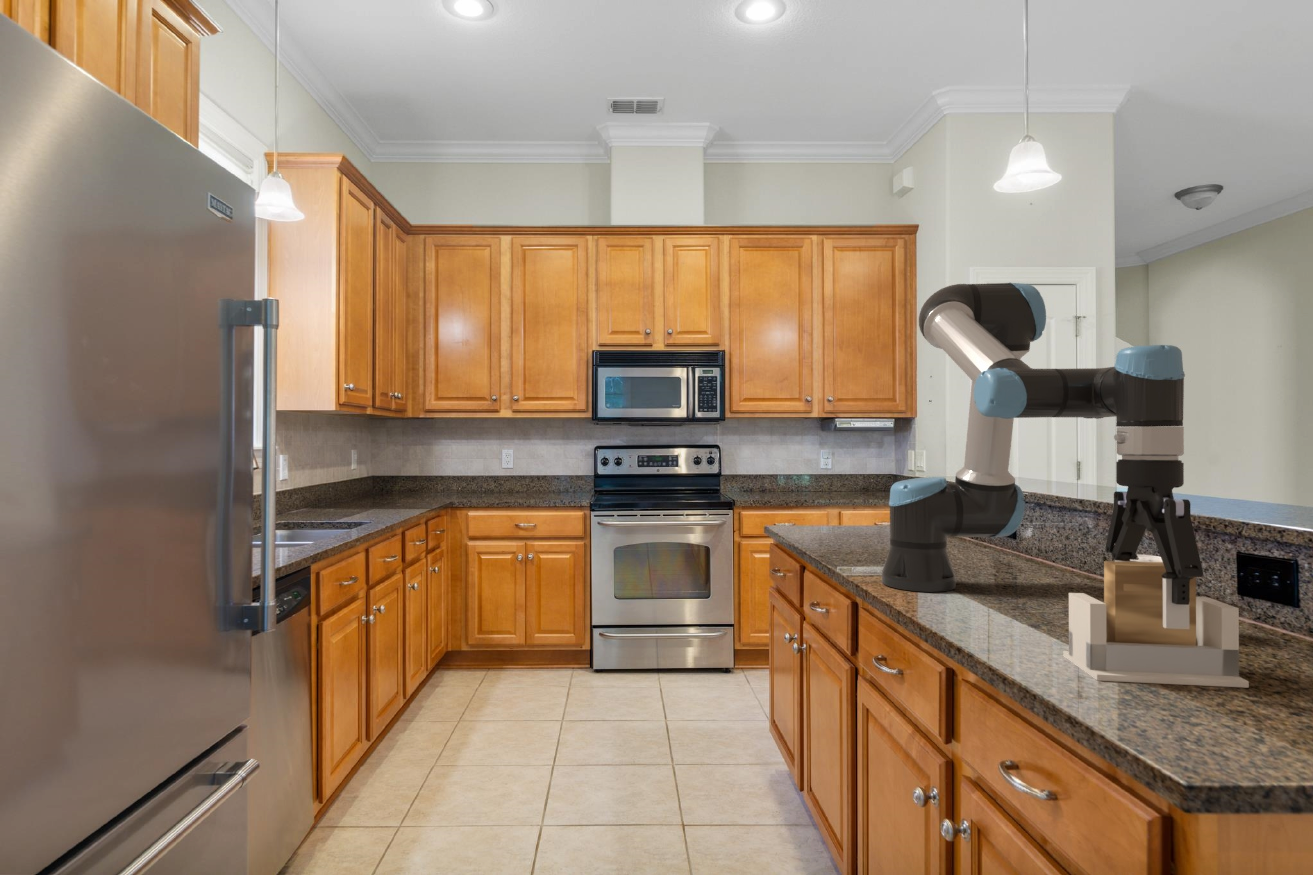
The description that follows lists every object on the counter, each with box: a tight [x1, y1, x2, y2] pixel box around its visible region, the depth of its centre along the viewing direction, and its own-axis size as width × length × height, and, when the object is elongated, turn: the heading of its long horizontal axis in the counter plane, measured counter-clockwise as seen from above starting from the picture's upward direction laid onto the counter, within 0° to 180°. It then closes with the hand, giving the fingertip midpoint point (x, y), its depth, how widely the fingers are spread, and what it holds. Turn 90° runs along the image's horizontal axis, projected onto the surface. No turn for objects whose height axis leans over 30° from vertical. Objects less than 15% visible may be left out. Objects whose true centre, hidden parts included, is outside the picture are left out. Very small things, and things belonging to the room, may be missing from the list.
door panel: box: [1103, 560, 1197, 646], centre depth 93 cm, size 3×10×14 cm, turn 81°
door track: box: [1062, 592, 1250, 689], centre depth 93 cm, size 10×18×10 cm, turn 81°
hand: (1149, 616), depth 93 cm, fingers open, 11 cm apart
